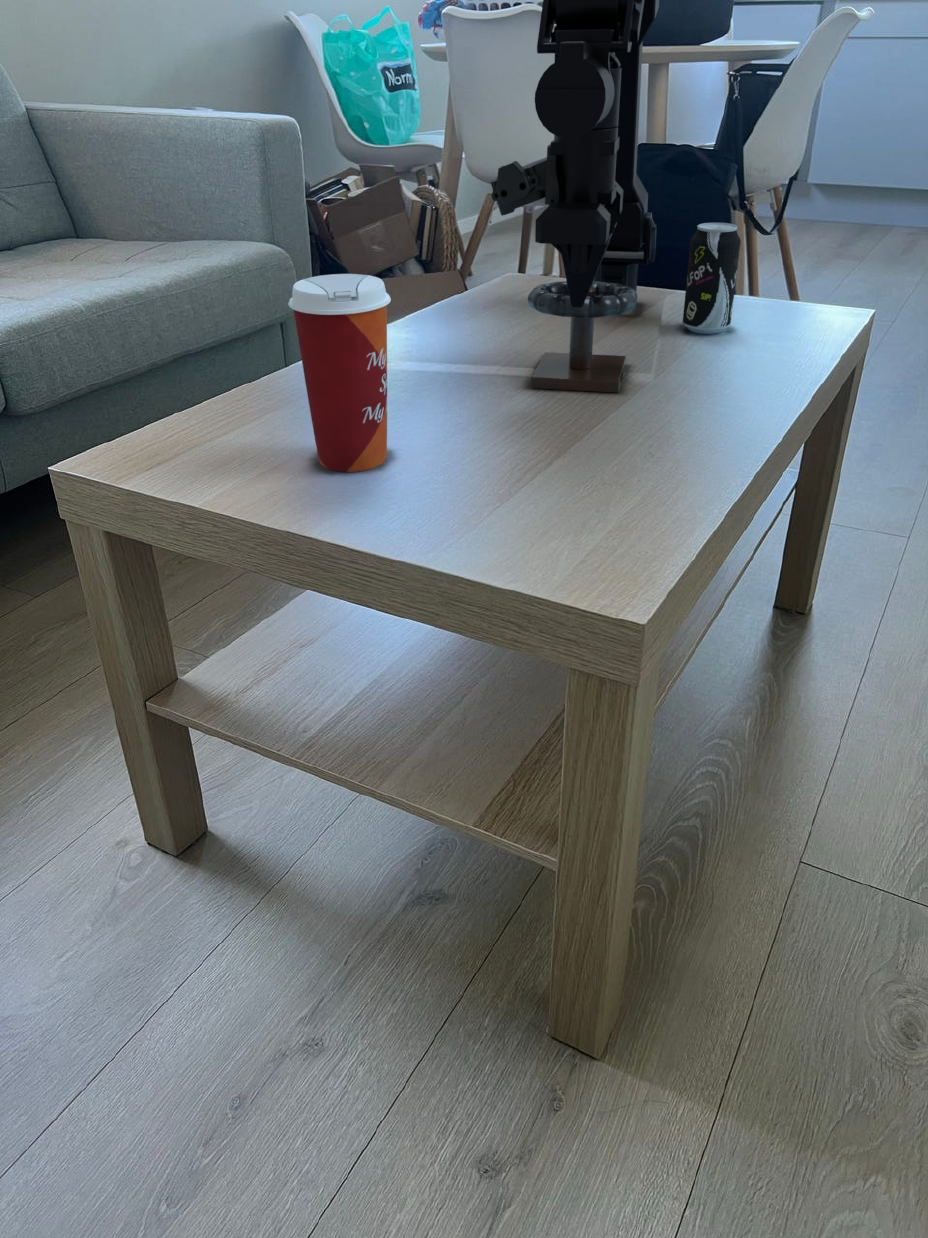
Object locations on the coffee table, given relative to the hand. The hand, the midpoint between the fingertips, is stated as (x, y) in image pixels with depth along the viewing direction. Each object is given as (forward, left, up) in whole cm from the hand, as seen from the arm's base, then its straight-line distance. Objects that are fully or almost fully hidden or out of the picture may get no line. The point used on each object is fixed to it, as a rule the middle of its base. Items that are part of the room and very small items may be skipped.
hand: (578, 303), depth 95 cm
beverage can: (-25, +13, -9) cm, 30 cm away
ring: (-4, 0, 0) cm, 5 cm away
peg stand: (-4, 0, -9) cm, 10 cm away
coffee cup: (+22, -17, -9) cm, 29 cm away
